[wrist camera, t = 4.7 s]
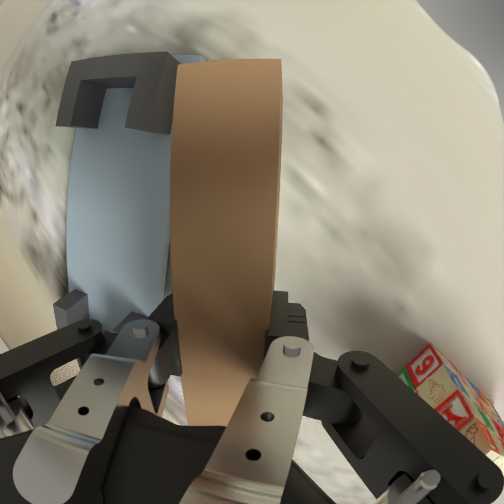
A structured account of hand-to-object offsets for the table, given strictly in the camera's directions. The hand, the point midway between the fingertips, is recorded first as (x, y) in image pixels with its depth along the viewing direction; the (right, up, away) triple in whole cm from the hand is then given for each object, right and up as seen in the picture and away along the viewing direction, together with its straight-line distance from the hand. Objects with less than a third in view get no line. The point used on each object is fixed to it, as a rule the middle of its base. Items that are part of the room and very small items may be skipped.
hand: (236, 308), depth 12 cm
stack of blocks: (+22, -14, +9) cm, 28 cm away
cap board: (-9, +5, +7) cm, 12 cm away
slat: (0, 0, +2) cm, 2 cm away
